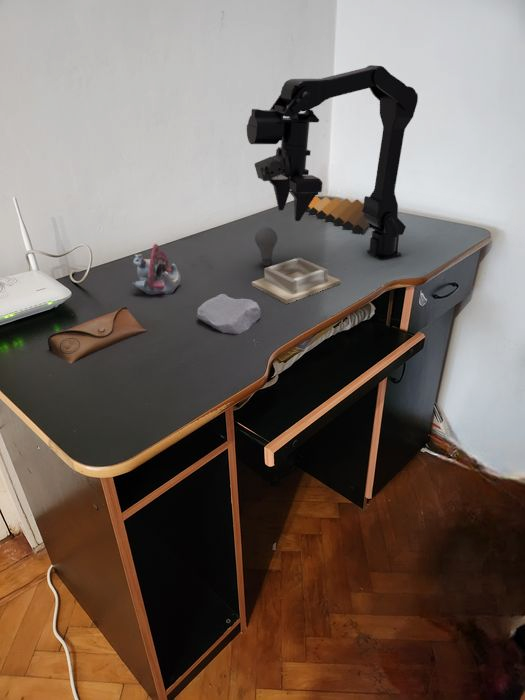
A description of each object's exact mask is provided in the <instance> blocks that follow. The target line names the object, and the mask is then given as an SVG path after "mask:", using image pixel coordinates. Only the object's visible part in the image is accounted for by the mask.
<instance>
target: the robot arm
mask: <svg viewBox="0 0 525 700" xmlns="http://www.w3.org/2000/svg"><path fill="white" fill-rule="evenodd" d="M366 89H370V92H371V94H372V95H373V96H374V97H375V98H376V99H377V100H378V101H379V116H380V118H381V122H382V135H381V143H380V149H379V155H378V162H377V170H376V175H375V177H376V178H375V183H374V189H373V191H372V193H371V194H370V195H369V196H367V195H365V196H364V198H363V203H364V207H363V210H362V212H363V213H364V219H365V220H366V221H367V222H368V224H369V227H368V228H369V229H372V232H371V237H370V239H369V241H370V243H369V249H368V250H366V251H367V253H368V254H370V255H371V256H373V257H375V258H377V259H378V260H380V261H381V260H386V259H391V258H395V257H400V256H402V253H401V252H400V251H399V239H400V236H402V235H403V234H404V233H405V230H406V228H407V227H406V225H405V224H404V223H403V221H402V220H400V219H399V218H398V216H399V212H398V211H399V205H398V200H397V198H396V194H395V193H396V184H397V178H398V173H399V167H400V161H401V154H402V149H403V142H404V136H405V130H406V128H407V126H409V124H410V123H411V121H412V119H413V118H414V114H415V111H416V108H417V105H418V102H419V101H418V100H419V95H418V93H417V92H416V90H415V88H414V87H412V86H407V85H406V83H404V82H403V81H402V80H400V79H398V78H397V77H395V76H394V75H393V74H391V73H390V72H389V71H388V70H387V69H386V67H384V66H382V65H373V64H371V65H367V66H366V67H363V68H359V69H354V70H352V71H346V72H342V73H339V74H338V73H337V74H334V75H330V76H326V77H322V78H290V79H288V80H286V81H285V82H284V84H283V85H282V87H281V90H280V94H279V95H278V97H277V99H276V100H275V101H274V103H273V104H272V106H271V108H270V109H260V108H252V109H251V114H250V116H249V118H248V121H247V125H246V136H247V141H248V143H249V144H250V145H277V144H278V143H279V142H280V141H281V143H280V145H281V146H280V147H279V146H277V148H276V150H275V152H276V153H275V155H273V156H270V157H267V158H264V159H262V160H260V161H257V162H255V163H254V168H255V171H256V176H257V178H258V179H260V180H261V181H263V182H267V181H268V182H269V183H270V184H271V186H273V191H274V193H275V194H274V195H275V198H276V204H277V209H278V211H284V209H285V207H286V204H287V201H288V198H289V195H291V196H292V197H293V203H294V204H293V208H294V209H293V210H294V221H295V222H300V221H301V220H302V218H303V216H304V215H305V211H306V209H307V208H308V206H309V204H310V203H311V201H312V200H313V198H314V197H315V196H318V195H319V193H321V192H323V181H322V180H321V179H320V178H319V177H317V176H315V175H312V174H309V172H310V170H309V169H307V168H306V166H307V156H308V157H309V156H311V150H310V149H308V141H309V132H310V123H319V122H320V119H319V117H318V116H317V115H316V114H315V113H314V110H312V109H313V108H315V107H318V106H320V105H322V104H323V103H325V101H327V100H329V99H332V98H335V97H339V96H342V95H347V94H350V93H354V92H359V91H362V90H366Z"/></svg>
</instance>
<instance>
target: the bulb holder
mask: <svg viewBox="0 0 525 700" xmlns="http://www.w3.org/2000/svg"><path fill="white" fill-rule="evenodd" d="M263 270H264V277H262V278H258V279H257V280H254V281H253V280H252V281H251V285H252V287H254V288H256V289H258V290H259V291H261V292H263V293H265V294H266V295H268V296H270V297H272V298H273V299H276V300H277V299H278V301H279V300H280V301H279V302H281V303H283V304H285V305H289V304H291V303H293V302H297V301H299V300H302V299H304V298H307V297H310V296H312V294H313V295H315V293H316V294H318V293H321V292H323V291H322V290H324V291H325V289H326V290H328V289H327V288H329V289H331V288H330V287H332V288H334V287H336V286H335V285H337V286H339V285H338V284H340V285H341V279H338V278H336V277H333V276H331V275H329V274H328V272H329V270H328V269H327V268H325V267H322V266H321V265H318V264H316V263H313V262H310V261H308V260H306V259H304V258H301V257H295V258H293V259H290V260H286V261H283V262H279V263H277V264H273V265H269V266H266V267H265V268H263ZM333 286H334V287H333ZM320 291H321V292H320ZM317 292H318V293H317ZM309 295H310V296H309ZM296 300H297V301H296ZM288 303H289V304H288Z"/></svg>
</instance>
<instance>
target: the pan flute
mask: <svg viewBox="0 0 525 700" xmlns="http://www.w3.org/2000/svg"><path fill="white" fill-rule="evenodd" d="M363 207H364V202H363V203H362V201H360V200H359V199H355V200H354V201H350V200H349V198H345V199H343V200H342V201H341V200H340V199H339V198H337V197H335V198H333V199H332V200H330V198H329V197H327V196H325V197H324V198H322V199H321V198H319V197H318V195H316V196H315V197H314V198H313V200H312V201H311V203H310V204H309V206H308V208H307V209H306V211H305V212H309V213H308V214H309V216H310V215H316V216H315V217H317V218H316V219H317V220H323V219H325V220H324V221H325V223H327V222H332V223H331V224H333V225H334V227H339V226H342V229H343V231H350V230H352V234H353V233H354V234H353V235H360V234H361V236H362V235H363V234H364V233H363V232H366V231H367V229H368V228H369V224H368V222H367V221H366V220H365V219H364V213H363V212H362V210H363Z"/></svg>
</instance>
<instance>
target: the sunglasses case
mask: <svg viewBox="0 0 525 700" xmlns="http://www.w3.org/2000/svg"><path fill="white" fill-rule="evenodd" d="M146 332H148V329H146V328H144V327H143V326H142V325H141V323H140V322H138V320H137V319H136V318H135V317H134V316H133V314H132V313H131V312H130V310H128V307H127V306H124V307H121V308H119V309H117V310H116V311H113V312H110V313H108V314H105V315H102V316H98V317H96V318H93V319H90V320H87V321H85V322H83V323H81V324H78V325H76V326H75V325H74V326H72V327H70V328H67V329H65V330H61V331H57V332H54V333H52V334H51V335H50V336H49V337H48V338H47V345H48V348H49V351H50V352H52V353H54V354H55V355H57V356H59V357H60V358H61V359H62V360H64V361H65V362H68V363H69V364H74V363H75V362H78V361H79V360H81V359H84V358H85V357H88V356H89V355H92V354H94V353H97V352H99V351H101V350H103V349H106V348H108V347H111V346H112V345H115V344H118V343H120V342H123V341H124V340H127V339H130V338H133V337H135V336H138V335H140V334H144V333H146Z"/></svg>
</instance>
